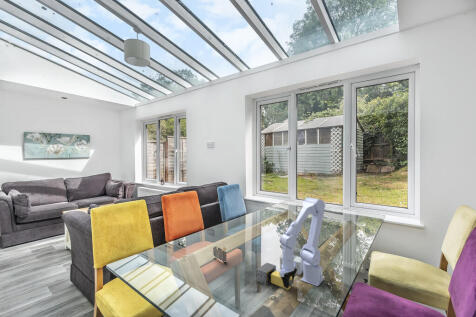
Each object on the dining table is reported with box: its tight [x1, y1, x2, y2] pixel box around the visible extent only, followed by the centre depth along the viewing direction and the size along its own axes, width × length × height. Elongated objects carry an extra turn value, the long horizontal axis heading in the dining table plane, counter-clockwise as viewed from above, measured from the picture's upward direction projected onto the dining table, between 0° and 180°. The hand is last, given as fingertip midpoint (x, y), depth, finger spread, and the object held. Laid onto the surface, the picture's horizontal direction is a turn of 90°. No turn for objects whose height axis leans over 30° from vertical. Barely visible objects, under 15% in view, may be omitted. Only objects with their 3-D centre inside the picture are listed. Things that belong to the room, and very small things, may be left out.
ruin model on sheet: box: [212, 245, 227, 262], centre depth 147 cm, size 11×3×10 cm, turn 39°
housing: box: [256, 262, 277, 286], centre depth 122 cm, size 6×10×6 cm, turn 140°
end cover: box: [270, 270, 293, 290], centre depth 116 cm, size 10×5×5 cm, turn 50°
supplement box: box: [279, 255, 303, 276], centre depth 132 cm, size 7×7×13 cm
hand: (288, 285), depth 114 cm, fingers closed on end cover, 5 cm apart
